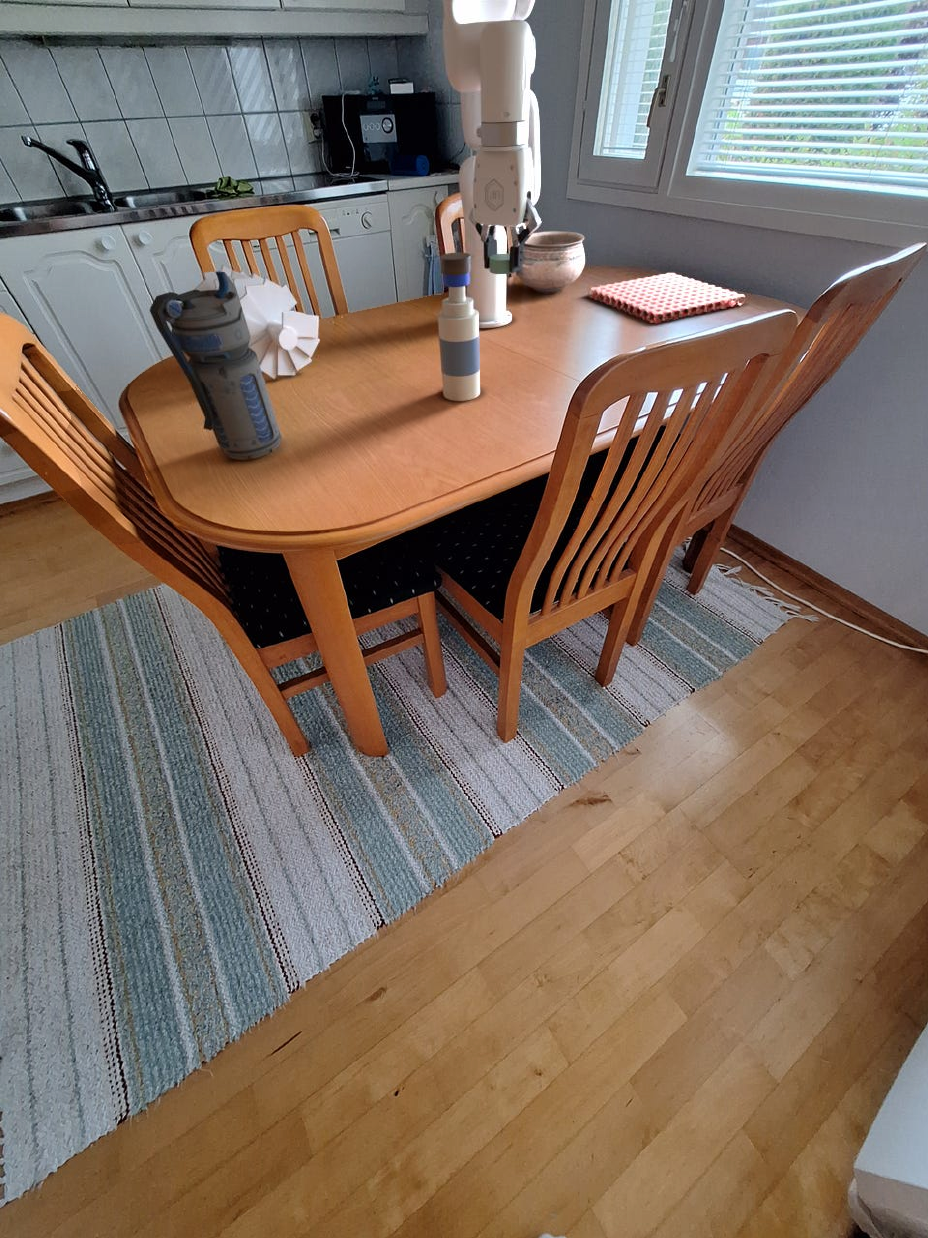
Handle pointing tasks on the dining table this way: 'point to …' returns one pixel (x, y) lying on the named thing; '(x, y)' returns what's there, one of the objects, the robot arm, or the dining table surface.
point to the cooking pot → (552, 260)
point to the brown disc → (455, 263)
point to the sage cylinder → (500, 263)
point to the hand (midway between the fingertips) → (503, 267)
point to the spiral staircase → (271, 322)
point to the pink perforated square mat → (665, 297)
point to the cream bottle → (459, 341)
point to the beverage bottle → (220, 366)
